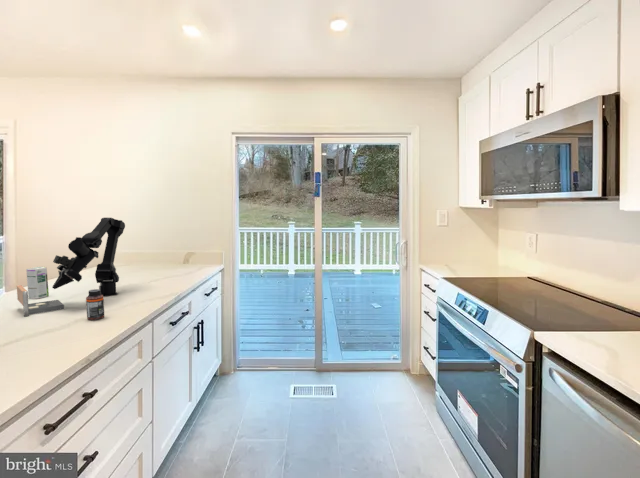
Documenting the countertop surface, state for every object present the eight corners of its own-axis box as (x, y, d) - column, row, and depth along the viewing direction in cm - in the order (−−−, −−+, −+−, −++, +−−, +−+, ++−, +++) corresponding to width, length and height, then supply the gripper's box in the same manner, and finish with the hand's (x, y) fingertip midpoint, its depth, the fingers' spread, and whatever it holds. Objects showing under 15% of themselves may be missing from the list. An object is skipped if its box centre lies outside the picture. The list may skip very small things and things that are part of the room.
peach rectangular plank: (22, 298, 161) (21, 285, 160) (27, 305, 151) (26, 290, 150) (17, 299, 160) (16, 285, 159) (23, 306, 150) (22, 291, 149)
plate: (58, 304, 168) (57, 282, 167) (65, 310, 158) (64, 287, 158) (19, 309, 158) (17, 286, 157) (24, 316, 149) (22, 292, 148)
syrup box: (38, 299, 176) (36, 268, 175) (27, 298, 178) (25, 268, 176) (49, 296, 182) (47, 266, 181) (39, 295, 183) (37, 266, 182)
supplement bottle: (91, 316, 151) (90, 288, 150) (107, 315, 151) (106, 288, 150) (83, 320, 145) (82, 292, 144) (99, 320, 145) (98, 291, 144)
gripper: (61, 246, 168) (32, 273, 161) (71, 250, 155) (40, 280, 148) (82, 262, 174) (55, 289, 167) (93, 267, 161) (64, 296, 154)
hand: (53, 288), depth 159 cm, fingers closed
